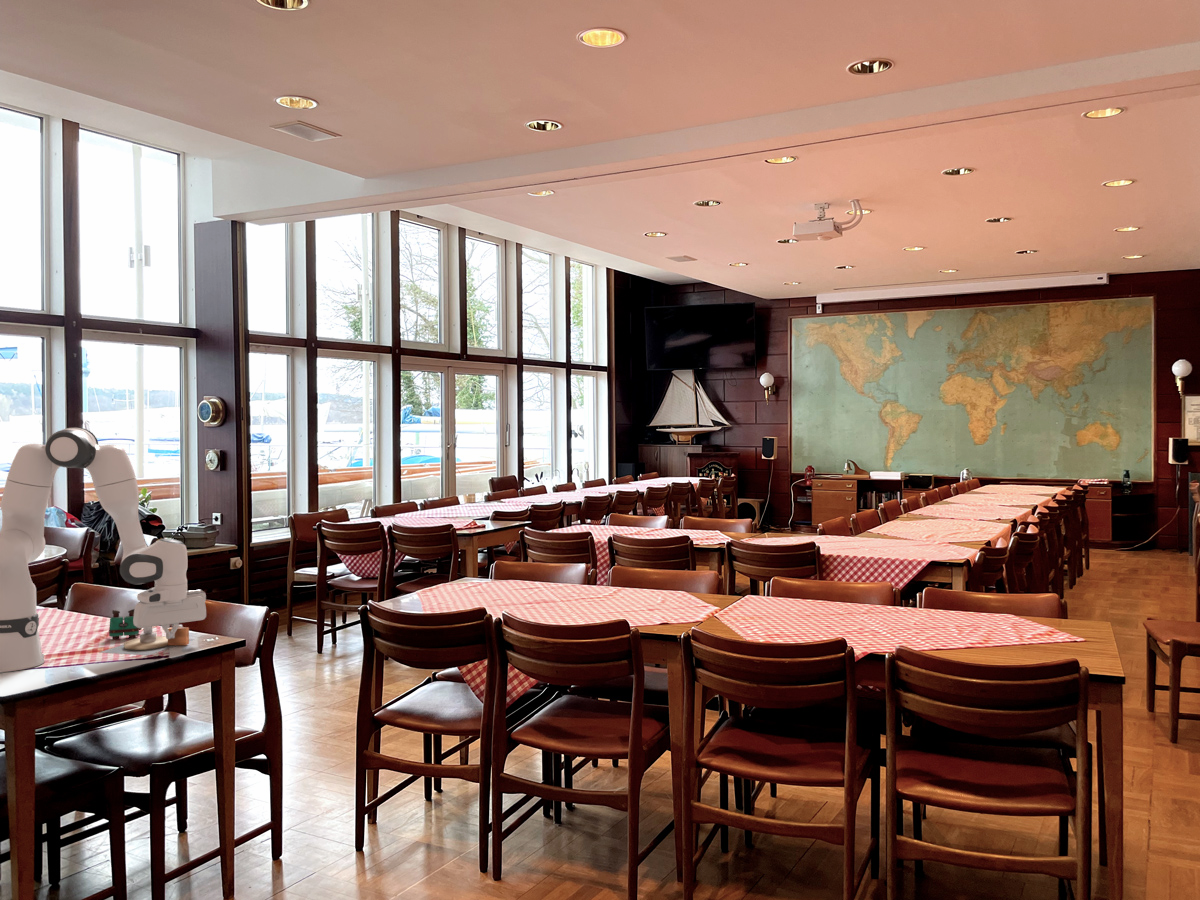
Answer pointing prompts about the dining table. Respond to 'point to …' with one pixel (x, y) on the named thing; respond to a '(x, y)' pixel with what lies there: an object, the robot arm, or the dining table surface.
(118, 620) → the binoculars
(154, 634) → the maple flange
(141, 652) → the base plate
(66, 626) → the dining table surface
